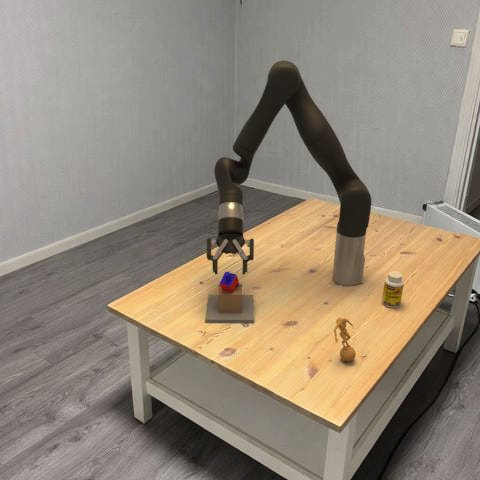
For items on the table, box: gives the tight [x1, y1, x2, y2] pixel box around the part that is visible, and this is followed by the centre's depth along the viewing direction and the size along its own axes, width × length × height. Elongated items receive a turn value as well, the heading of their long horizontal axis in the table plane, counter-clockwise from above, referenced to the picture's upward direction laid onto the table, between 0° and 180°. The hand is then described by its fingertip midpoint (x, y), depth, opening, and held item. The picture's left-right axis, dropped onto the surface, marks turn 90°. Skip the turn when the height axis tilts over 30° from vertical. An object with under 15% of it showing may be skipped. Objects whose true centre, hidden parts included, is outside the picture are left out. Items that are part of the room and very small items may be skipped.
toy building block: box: [219, 270, 240, 292], centre depth 154 cm, size 4×4×8 cm
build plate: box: [204, 283, 255, 324], centre depth 157 cm, size 14×14×7 cm
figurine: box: [333, 317, 357, 363], centre depth 135 cm, size 8×6×12 cm
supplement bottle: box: [381, 270, 405, 309], centre depth 160 cm, size 6×6×10 cm
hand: (229, 273), depth 152 cm, fingers open, 7 cm apart
